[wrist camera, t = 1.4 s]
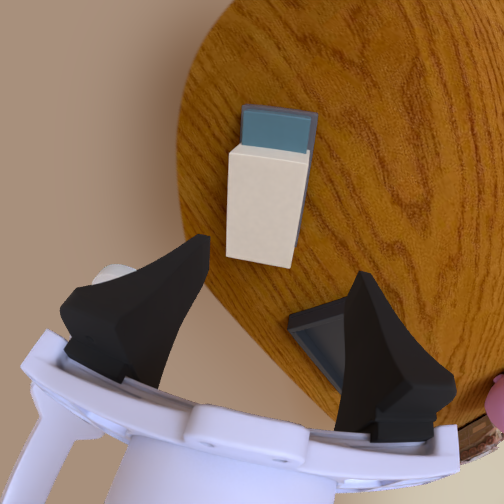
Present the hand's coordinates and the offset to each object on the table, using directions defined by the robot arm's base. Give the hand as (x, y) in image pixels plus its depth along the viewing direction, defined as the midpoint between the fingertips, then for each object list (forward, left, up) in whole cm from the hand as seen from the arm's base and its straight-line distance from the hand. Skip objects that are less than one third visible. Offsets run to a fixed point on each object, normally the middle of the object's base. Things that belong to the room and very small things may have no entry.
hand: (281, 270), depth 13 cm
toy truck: (-1, +2, -9) cm, 9 cm away
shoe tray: (0, -19, -9) cm, 21 cm away
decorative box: (+22, -69, -9) cm, 73 cm away
